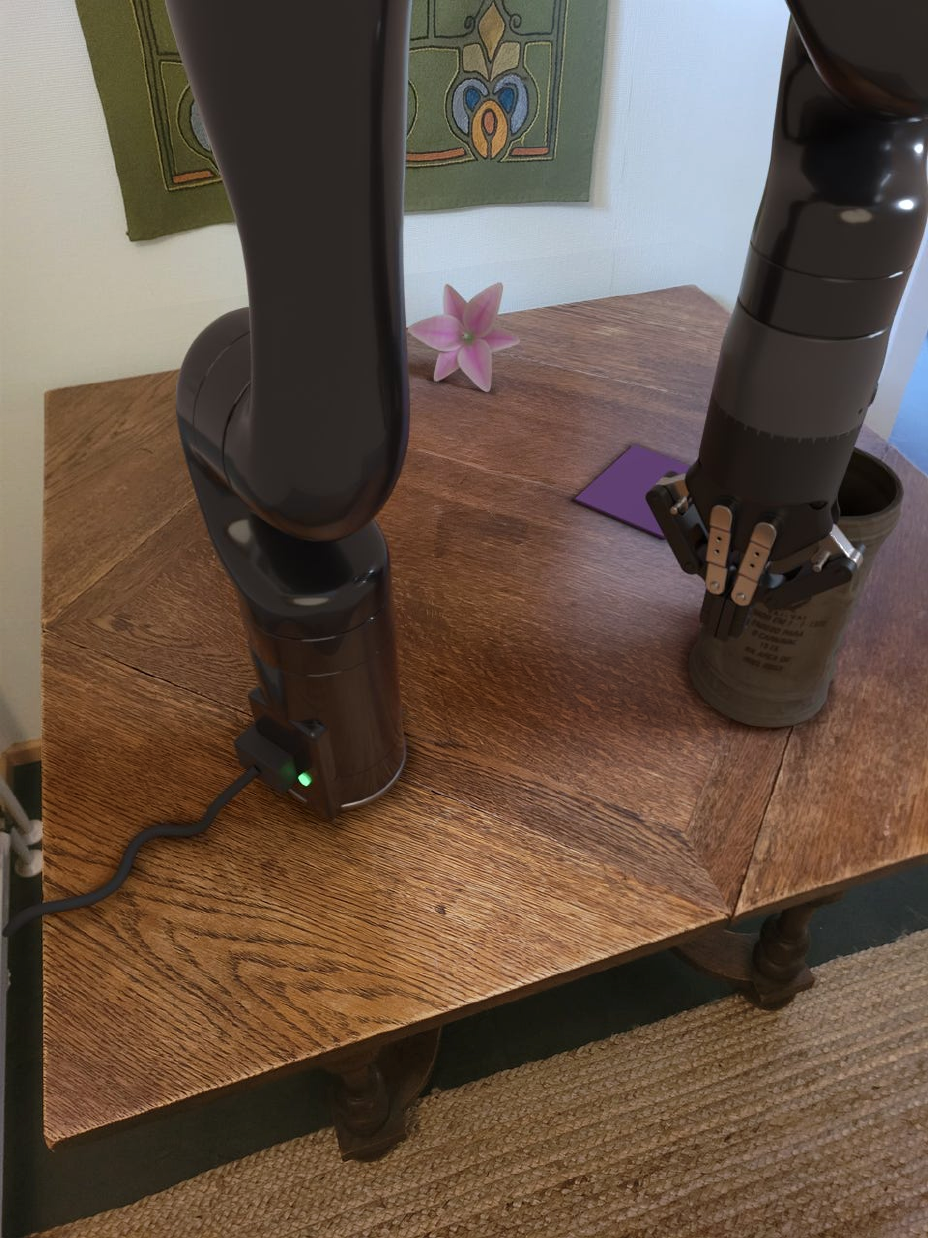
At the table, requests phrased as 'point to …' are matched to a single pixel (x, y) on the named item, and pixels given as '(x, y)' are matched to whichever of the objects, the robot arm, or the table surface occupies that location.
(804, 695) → the beer stein
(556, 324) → the table surface
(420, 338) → the lily
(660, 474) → the cloth
